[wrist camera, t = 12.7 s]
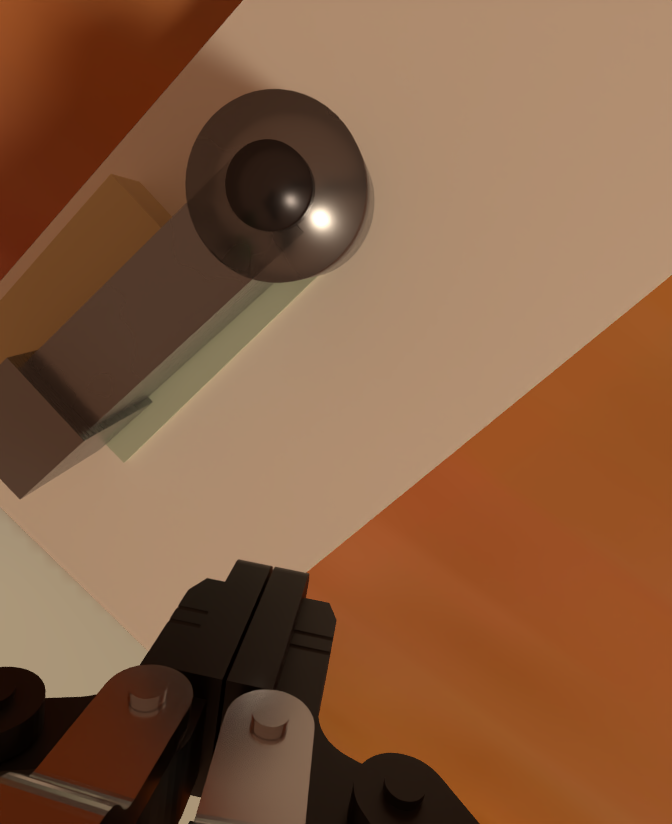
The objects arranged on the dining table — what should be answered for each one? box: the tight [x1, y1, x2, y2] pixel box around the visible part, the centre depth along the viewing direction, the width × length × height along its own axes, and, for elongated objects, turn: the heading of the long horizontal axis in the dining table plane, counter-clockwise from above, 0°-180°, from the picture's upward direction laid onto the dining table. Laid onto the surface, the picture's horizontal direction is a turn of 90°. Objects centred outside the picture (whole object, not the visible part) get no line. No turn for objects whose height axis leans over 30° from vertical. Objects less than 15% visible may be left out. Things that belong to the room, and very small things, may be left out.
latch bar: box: [0, 89, 374, 499], centre depth 16 cm, size 12×4×4 cm, turn 131°
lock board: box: [0, 0, 672, 652], centre depth 18 cm, size 26×13×3 cm, turn 133°
